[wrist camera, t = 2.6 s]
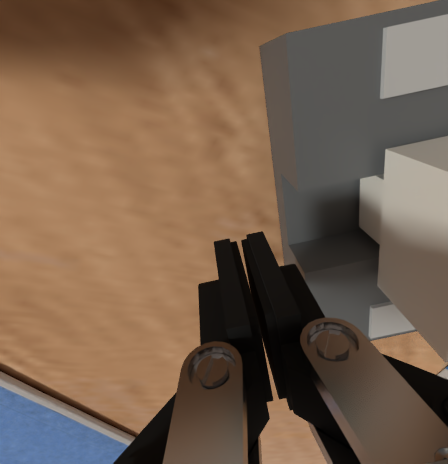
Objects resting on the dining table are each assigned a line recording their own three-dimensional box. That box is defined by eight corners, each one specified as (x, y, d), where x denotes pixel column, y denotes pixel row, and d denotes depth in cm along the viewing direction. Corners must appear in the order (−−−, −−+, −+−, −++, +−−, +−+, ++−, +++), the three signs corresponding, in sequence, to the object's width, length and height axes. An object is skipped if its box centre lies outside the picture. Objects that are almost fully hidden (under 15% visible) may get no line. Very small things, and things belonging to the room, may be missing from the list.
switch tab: (424, 237, 16) (568, 336, 10) (348, 253, 16) (445, 362, 10) (442, 116, 13) (658, 149, 7) (349, 135, 13) (485, 185, 7)
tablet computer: (187, 454, 27) (187, 471, 25) (94, 510, 30) (89, 528, 28) (-27, 344, 19) (-42, 361, 18) (-126, 435, 22) (-144, 455, 21)
